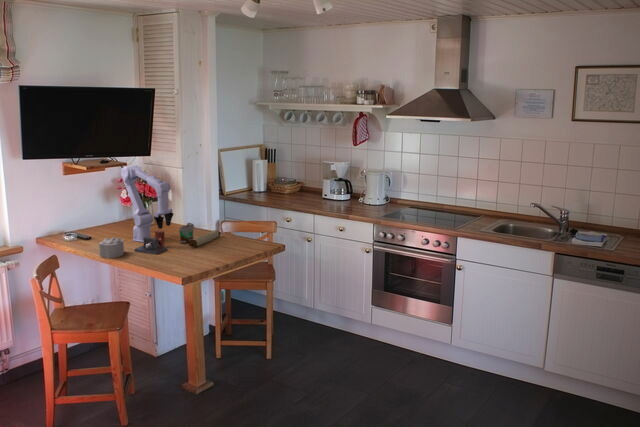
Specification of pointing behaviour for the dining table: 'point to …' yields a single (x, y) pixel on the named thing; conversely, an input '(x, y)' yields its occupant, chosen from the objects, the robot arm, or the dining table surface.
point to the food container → (186, 233)
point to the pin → (159, 236)
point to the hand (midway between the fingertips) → (164, 227)
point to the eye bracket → (152, 249)
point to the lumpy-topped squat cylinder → (111, 247)
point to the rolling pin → (204, 238)
